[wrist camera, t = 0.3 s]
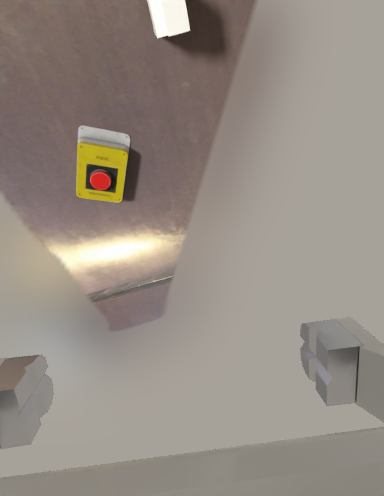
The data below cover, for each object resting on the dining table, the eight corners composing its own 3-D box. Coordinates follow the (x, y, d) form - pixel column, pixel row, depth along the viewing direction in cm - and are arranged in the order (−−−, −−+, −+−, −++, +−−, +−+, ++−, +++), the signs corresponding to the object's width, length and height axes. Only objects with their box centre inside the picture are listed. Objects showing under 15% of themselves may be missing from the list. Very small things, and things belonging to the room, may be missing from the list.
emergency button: (73, 207, 60) (75, 131, 51) (76, 195, 63) (78, 123, 54) (121, 212, 62) (131, 142, 53) (122, 201, 66) (131, 133, 57)
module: (154, 33, 47) (158, 39, 41) (143, -14, 43) (145, -14, 37) (183, 25, 47) (191, 30, 41) (175, -23, 43) (182, -25, 37)
